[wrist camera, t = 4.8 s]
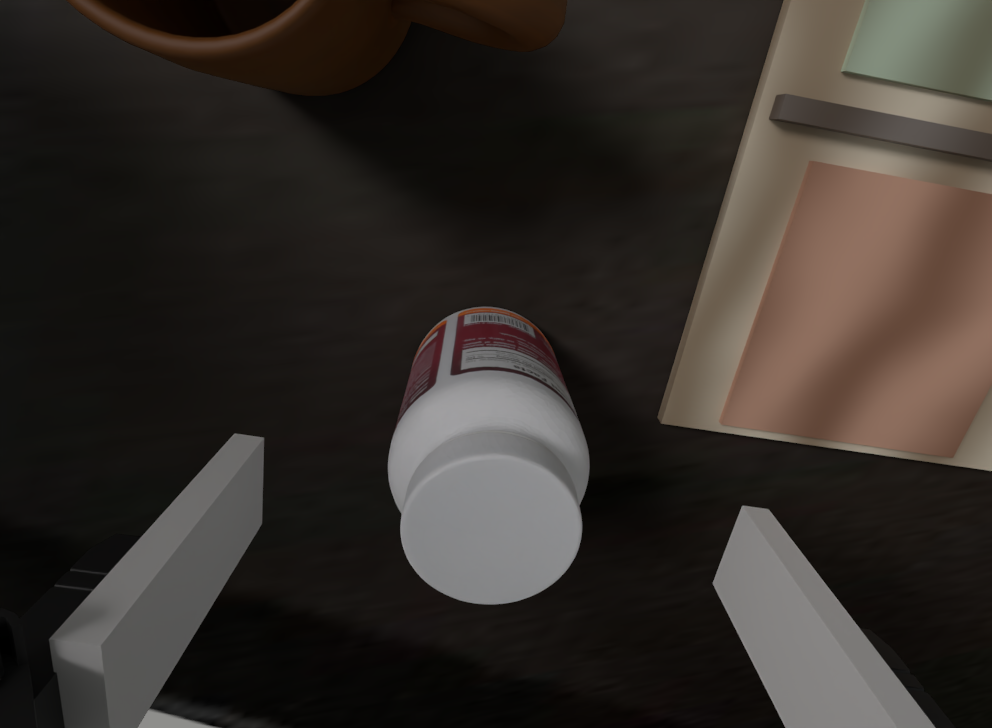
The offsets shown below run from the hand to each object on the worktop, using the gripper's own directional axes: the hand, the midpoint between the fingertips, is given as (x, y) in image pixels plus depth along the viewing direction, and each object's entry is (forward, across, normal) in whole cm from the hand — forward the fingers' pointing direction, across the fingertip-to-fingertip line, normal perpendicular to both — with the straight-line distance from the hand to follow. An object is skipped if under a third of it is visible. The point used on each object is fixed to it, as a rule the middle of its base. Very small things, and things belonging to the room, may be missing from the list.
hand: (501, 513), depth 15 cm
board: (+10, +15, +12) cm, 22 cm away
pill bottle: (+10, -1, 0) cm, 10 cm away
